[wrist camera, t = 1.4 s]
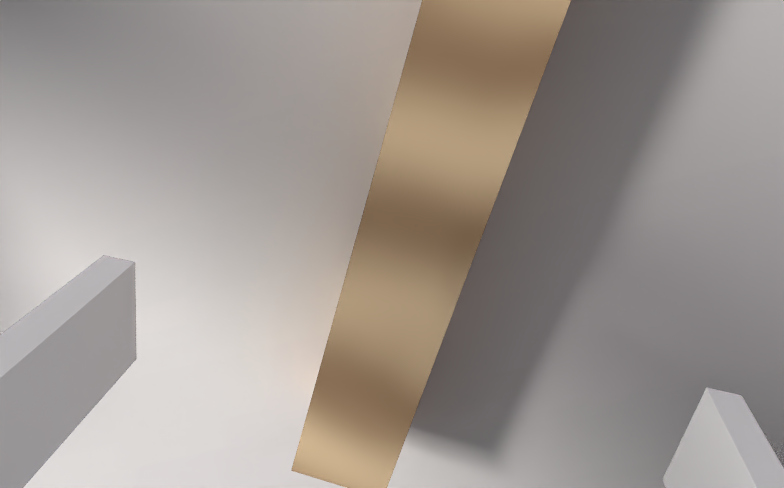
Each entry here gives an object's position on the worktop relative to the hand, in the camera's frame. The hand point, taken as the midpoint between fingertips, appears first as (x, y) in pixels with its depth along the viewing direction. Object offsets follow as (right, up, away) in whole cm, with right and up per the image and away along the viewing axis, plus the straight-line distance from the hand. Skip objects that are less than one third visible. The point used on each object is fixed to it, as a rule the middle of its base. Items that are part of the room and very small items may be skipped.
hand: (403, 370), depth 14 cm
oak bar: (+1, +5, +11) cm, 12 cm away
